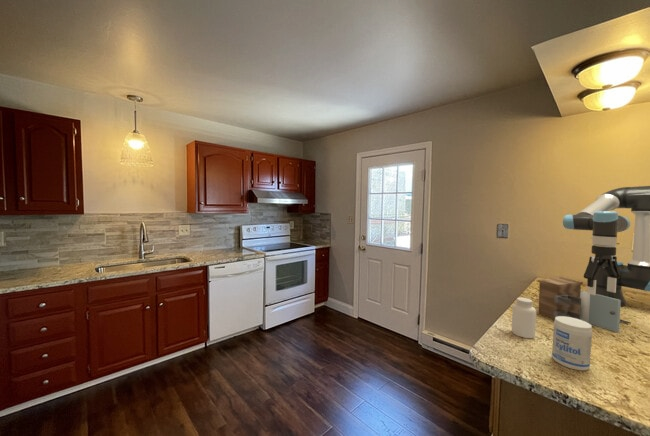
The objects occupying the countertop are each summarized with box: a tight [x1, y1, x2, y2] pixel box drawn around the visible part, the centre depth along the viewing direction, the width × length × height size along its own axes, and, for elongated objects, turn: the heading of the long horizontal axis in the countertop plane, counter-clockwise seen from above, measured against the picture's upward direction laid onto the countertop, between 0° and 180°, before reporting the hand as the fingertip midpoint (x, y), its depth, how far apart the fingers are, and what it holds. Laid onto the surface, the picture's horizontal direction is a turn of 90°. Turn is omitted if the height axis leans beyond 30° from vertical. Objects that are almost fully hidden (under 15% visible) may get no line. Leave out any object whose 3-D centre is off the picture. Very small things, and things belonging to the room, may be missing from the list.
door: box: [580, 290, 622, 333], centre depth 119 cm, size 4×14×14 cm, turn 16°
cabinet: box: [537, 276, 584, 321], centre depth 128 cm, size 18×14×17 cm
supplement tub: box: [551, 316, 593, 371], centre depth 90 cm, size 10×10×15 cm
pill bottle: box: [511, 297, 537, 339], centre depth 111 cm, size 8×8×15 cm
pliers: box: [620, 318, 632, 325], centre depth 131 cm, size 10×1×20 cm
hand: (601, 293), depth 118 cm, fingers open, 13 cm apart
